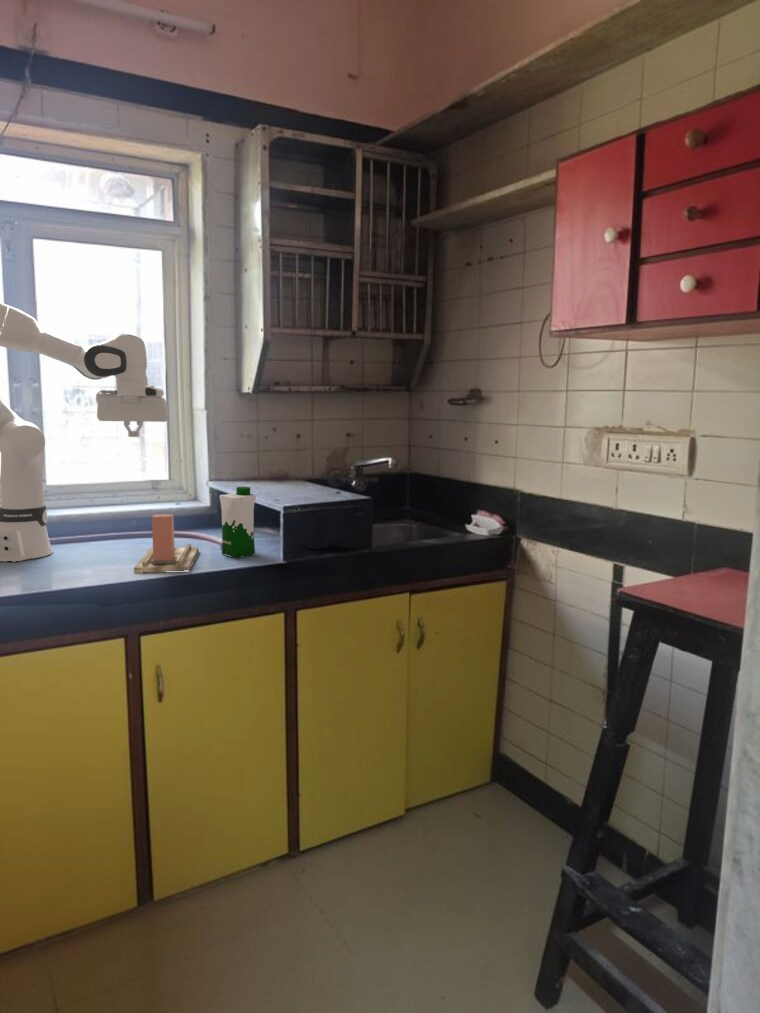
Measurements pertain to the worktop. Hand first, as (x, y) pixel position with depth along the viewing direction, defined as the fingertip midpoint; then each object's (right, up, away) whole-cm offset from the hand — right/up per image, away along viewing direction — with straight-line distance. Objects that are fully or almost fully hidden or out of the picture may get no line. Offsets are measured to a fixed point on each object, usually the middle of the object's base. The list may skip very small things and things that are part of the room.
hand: (133, 436), depth 212 cm
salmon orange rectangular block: (+15, -36, -19) cm, 44 cm away
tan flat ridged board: (+14, -37, -12) cm, 41 cm away
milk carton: (+32, -36, -2) cm, 48 cm away
